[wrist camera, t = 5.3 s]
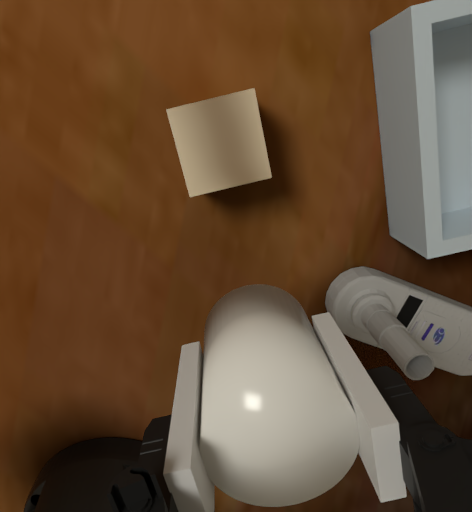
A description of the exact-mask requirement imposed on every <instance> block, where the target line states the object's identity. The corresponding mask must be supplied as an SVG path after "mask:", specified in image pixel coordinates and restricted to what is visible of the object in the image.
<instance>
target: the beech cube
mask: <svg viewBox="0 0 472 512" xmlns="http://www.w3.org/2000/svg"><path fill="white" fill-rule="evenodd" d="M166 111H167V114H168V118H169V122H170V125H171V129H172V133H173V137H174V140H175V144H176V148H177V151H178V155H179V159H180V163H181V166H182V170H183V174H184V177H185V181H186V185H187V189H188V192H189V196H190V197H193V196H197V195H201V194H206V193H210V192H214V191H218V190H223V189H227V188H231V187H235V186H239V185H244V184H248V183H252V182H256V181H260V180H265V179H269V178H272V175H271V170H270V165H269V160H268V155H267V150H266V145H265V140H264V134H263V129H262V124H261V119H260V114H259V109H258V104H257V99H256V94H255V89H254V88H253V89H249V90H244V91H240V92H236V93H232V94H228V95H224V96H220V97H216V98H212V99H208V100H203V101H199V102H195V103H191V104H187V105H183V106H179V107H175V108H171V109H167V110H166Z"/></svg>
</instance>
